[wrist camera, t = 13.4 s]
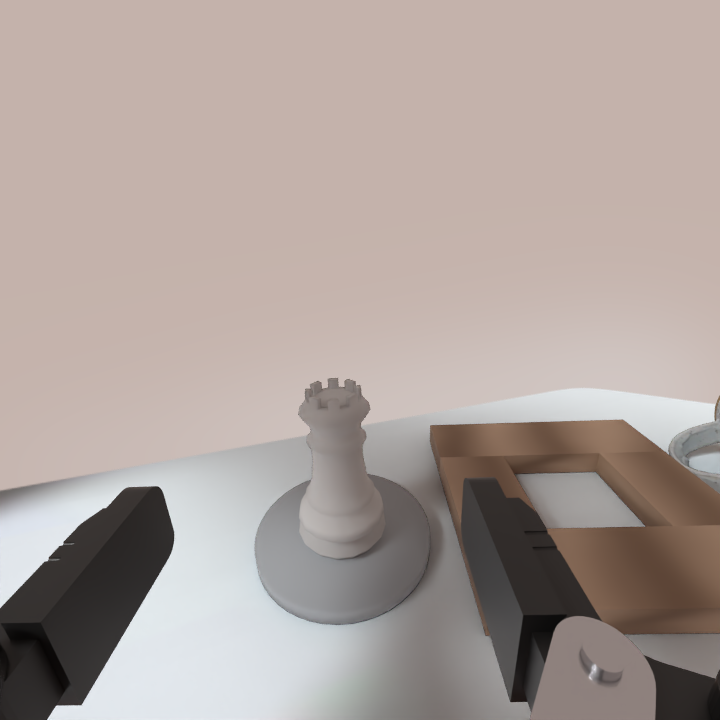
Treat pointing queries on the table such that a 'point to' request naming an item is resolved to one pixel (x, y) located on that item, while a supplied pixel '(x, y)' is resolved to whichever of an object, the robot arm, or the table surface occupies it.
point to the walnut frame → (610, 544)
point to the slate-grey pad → (343, 561)
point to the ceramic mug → (698, 446)
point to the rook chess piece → (338, 474)
